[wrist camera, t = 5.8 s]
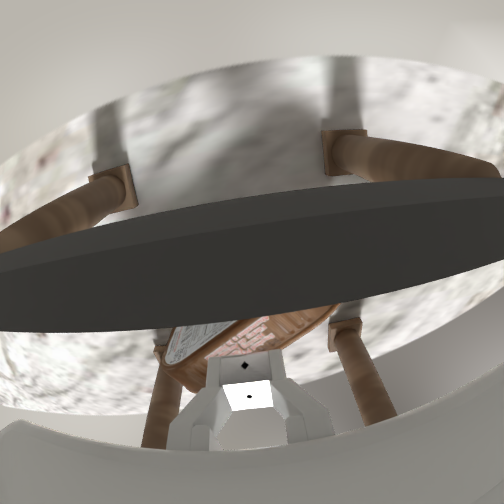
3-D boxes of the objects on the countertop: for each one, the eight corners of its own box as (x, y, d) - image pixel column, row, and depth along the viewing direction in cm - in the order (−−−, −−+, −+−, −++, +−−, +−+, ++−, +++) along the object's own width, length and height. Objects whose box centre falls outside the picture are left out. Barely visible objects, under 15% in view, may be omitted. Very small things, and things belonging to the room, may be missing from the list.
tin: (194, 334, 23) (182, 415, 15) (166, 313, 22) (142, 393, 14) (335, 221, 19) (390, 282, 12) (309, 189, 18) (360, 235, 10)
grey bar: (508, 177, 5) (545, 193, 4) (502, 226, 6) (535, 247, 4) (-33, 265, 5) (-59, 287, 4) (-15, 303, 6) (-38, 328, 5)
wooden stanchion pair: (362, 129, 16) (509, 154, 5) (356, 340, 24) (404, 446, 13) (93, 174, 17) (-39, 246, 5) (165, 366, 25) (144, 478, 14)
